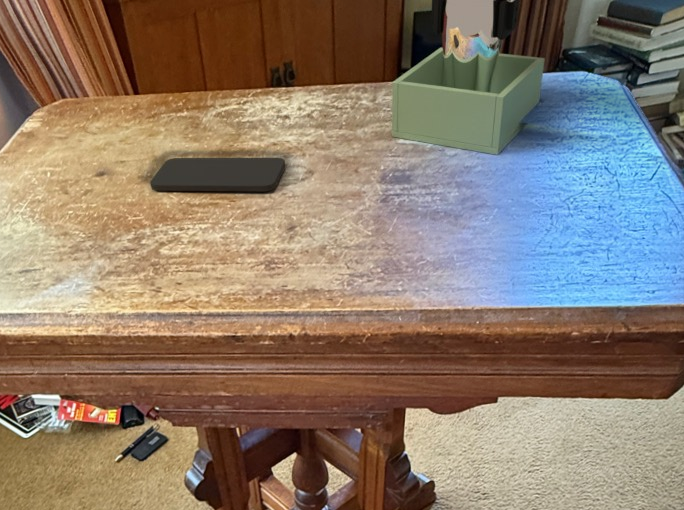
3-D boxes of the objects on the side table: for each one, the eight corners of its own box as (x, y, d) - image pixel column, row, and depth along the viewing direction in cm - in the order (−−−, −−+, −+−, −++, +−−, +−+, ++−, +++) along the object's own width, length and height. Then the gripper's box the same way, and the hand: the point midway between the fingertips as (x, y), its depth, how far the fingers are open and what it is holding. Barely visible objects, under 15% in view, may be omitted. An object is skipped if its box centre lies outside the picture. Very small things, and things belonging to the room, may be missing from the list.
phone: (167, 157, 88) (286, 157, 85) (169, 163, 89) (287, 163, 85) (146, 185, 83) (273, 186, 79) (148, 192, 83) (274, 193, 80)
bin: (537, 112, 91) (544, 58, 87) (497, 155, 83) (503, 97, 78) (438, 98, 98) (440, 47, 93) (391, 136, 89) (391, 82, 85)
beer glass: (434, 127, 88) (439, -4, 79) (442, 105, 93) (447, -20, 84) (493, 129, 86) (505, -5, 77) (497, 107, 91) (510, -22, 82)
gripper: (584, -159, 70) (558, 30, 81) (422, -152, 79) (418, 18, 90) (560, -149, 66) (535, 50, 77) (390, -142, 74) (390, 36, 85)
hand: (472, 32), depth 83 cm, fingers closed on beer glass, 7 cm apart
